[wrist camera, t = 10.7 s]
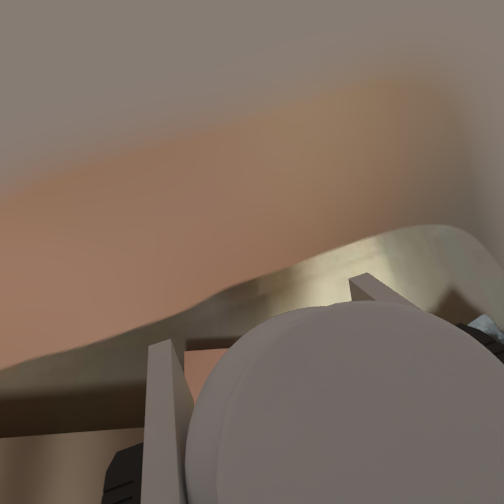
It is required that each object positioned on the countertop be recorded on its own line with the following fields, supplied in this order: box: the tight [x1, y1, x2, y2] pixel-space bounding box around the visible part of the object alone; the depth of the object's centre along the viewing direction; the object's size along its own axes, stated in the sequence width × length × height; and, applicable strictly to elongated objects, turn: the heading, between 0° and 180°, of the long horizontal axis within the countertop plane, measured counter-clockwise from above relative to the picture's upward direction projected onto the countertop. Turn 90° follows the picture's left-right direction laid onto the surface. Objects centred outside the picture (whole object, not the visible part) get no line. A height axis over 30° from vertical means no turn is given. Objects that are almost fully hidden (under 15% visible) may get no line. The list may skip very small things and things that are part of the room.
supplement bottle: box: [185, 300, 504, 504], centre depth 11 cm, size 7×7×13 cm
